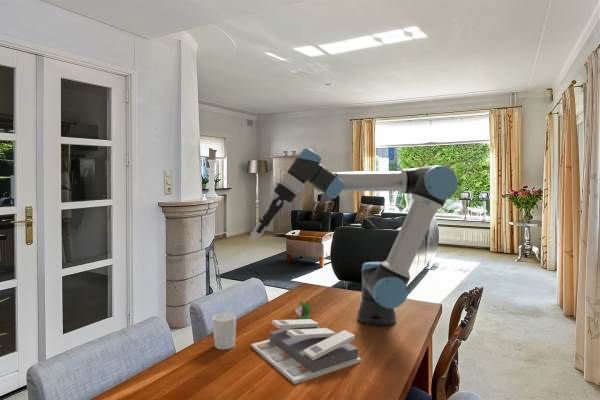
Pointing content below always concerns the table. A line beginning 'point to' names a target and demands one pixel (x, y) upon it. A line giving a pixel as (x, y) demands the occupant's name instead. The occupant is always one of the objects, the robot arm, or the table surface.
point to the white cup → (224, 330)
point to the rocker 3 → (329, 344)
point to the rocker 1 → (294, 323)
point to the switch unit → (303, 355)
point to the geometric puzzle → (303, 310)
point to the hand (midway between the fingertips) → (253, 237)
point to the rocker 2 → (310, 333)
